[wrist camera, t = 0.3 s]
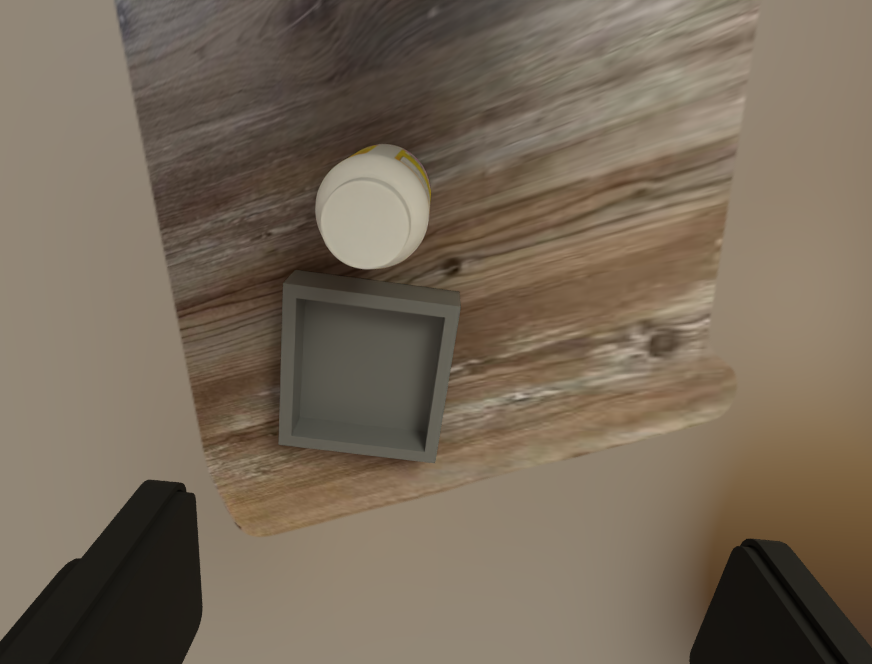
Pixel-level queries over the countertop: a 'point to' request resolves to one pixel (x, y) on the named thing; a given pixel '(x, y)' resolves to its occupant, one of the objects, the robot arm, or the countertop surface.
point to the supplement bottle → (374, 207)
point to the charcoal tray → (365, 365)
